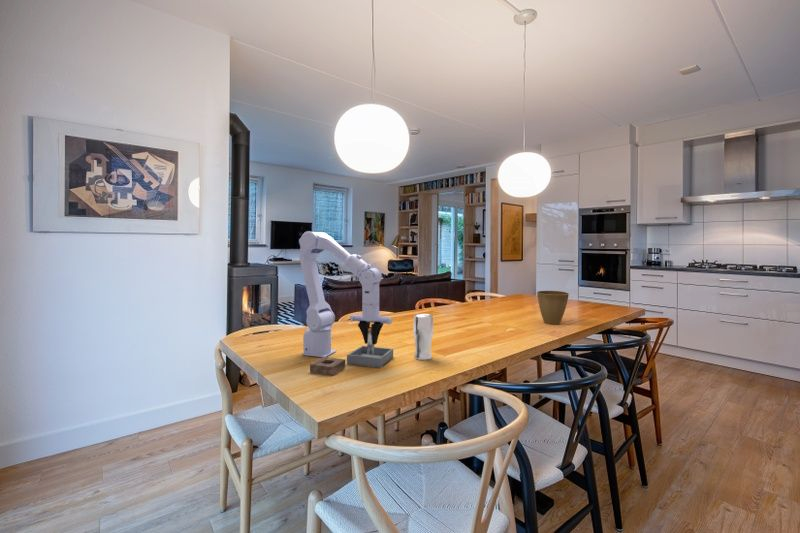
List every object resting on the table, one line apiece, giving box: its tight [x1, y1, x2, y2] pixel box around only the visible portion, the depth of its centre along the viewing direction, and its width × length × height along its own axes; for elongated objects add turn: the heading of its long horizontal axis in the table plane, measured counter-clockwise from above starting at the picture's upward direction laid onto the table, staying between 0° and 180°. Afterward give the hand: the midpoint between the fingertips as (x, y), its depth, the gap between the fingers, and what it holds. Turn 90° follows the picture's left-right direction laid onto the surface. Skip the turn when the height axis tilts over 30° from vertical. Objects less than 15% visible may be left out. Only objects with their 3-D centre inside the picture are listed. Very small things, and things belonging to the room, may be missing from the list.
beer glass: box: [412, 313, 434, 361], centre depth 126 cm, size 7×7×15 cm
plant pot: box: [536, 290, 570, 326], centre depth 184 cm, size 15×15×16 cm
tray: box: [346, 345, 394, 369], centre depth 123 cm, size 12×12×3 cm
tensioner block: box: [309, 356, 346, 376], centre depth 114 cm, size 8×8×2 cm
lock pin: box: [366, 326, 375, 355], centre depth 123 cm, size 2×2×9 cm
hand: (370, 343), depth 123 cm, fingers closed on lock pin, 2 cm apart
